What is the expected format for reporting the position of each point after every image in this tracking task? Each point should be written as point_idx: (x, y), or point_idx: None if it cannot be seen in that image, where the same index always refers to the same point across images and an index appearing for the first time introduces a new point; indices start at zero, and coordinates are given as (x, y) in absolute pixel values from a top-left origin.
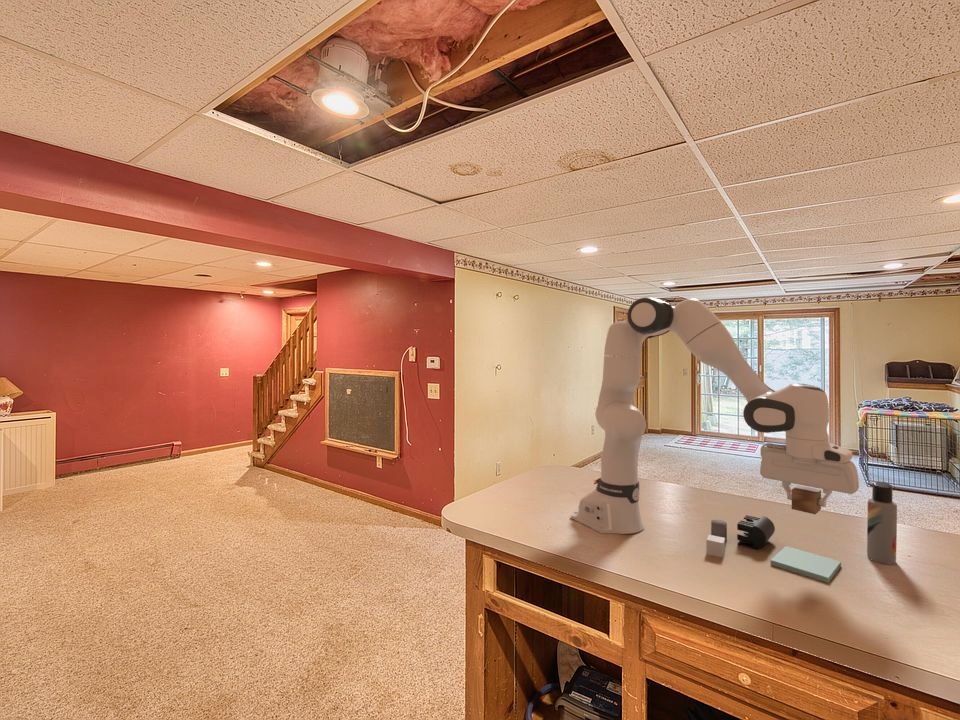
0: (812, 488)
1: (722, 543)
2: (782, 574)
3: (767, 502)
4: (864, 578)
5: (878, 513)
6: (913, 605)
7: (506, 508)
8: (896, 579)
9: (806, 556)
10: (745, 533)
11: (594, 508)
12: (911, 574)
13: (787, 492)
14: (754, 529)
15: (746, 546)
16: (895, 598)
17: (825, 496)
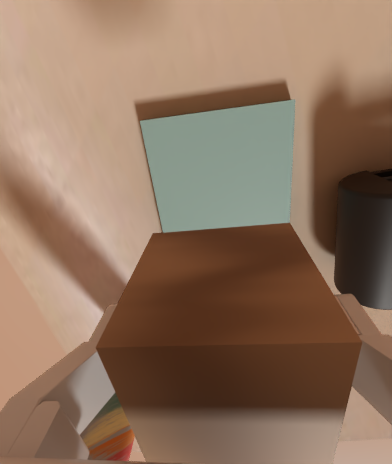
0: (205, 461)
1: None
2: (242, 56)
3: (382, 436)
4: (114, 219)
5: (90, 426)
6: (4, 164)
7: None
8: (84, 262)
9: (229, 215)
10: None
11: None
12: (84, 301)
13: (380, 336)
14: None
15: (383, 170)
16: (35, 169)
17: (59, 372)
